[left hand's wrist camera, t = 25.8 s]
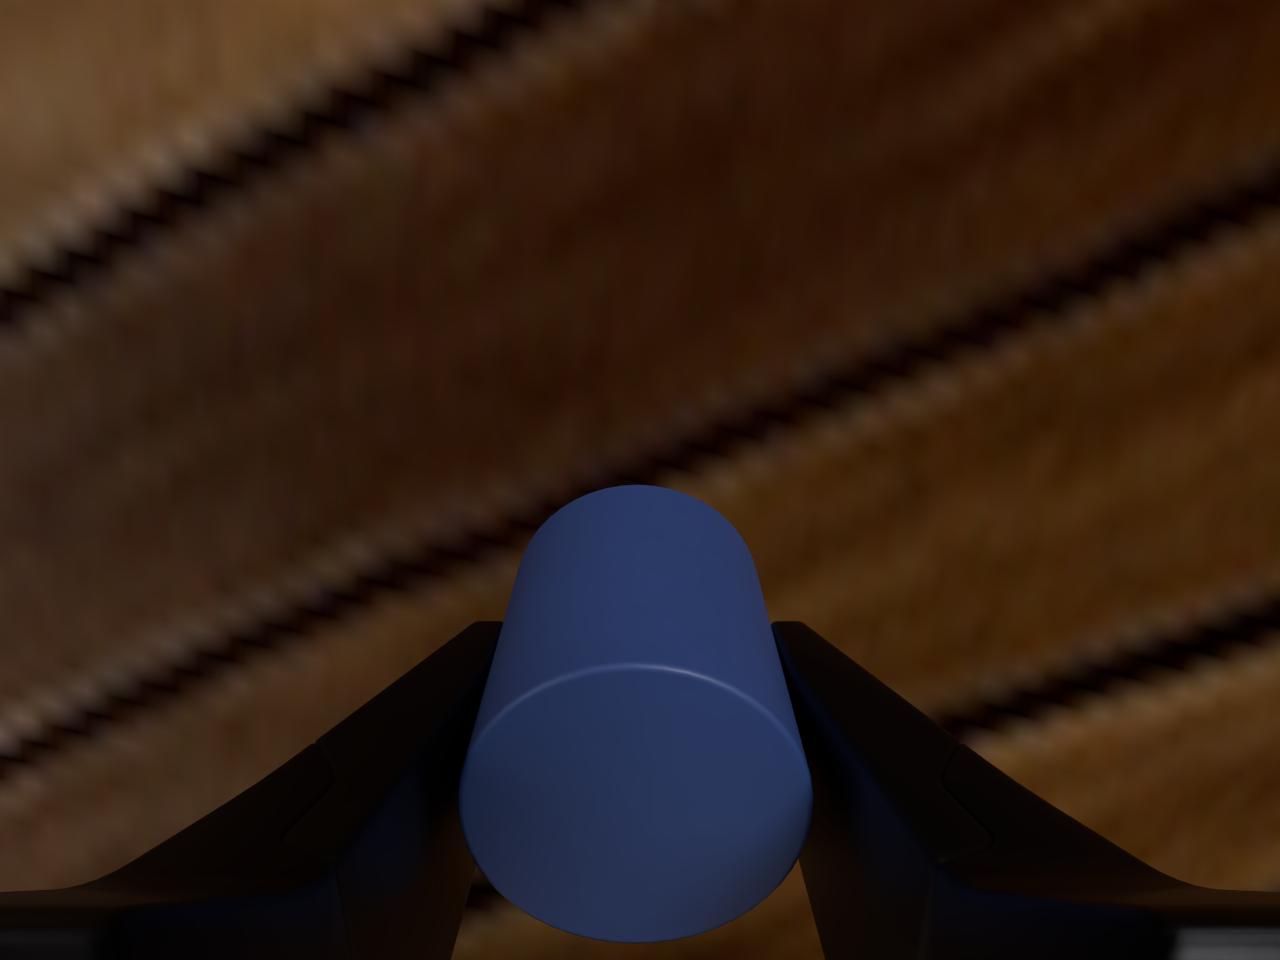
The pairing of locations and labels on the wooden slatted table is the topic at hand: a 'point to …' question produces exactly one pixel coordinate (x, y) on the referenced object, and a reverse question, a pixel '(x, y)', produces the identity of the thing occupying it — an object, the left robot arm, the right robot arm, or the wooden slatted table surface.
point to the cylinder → (635, 727)
